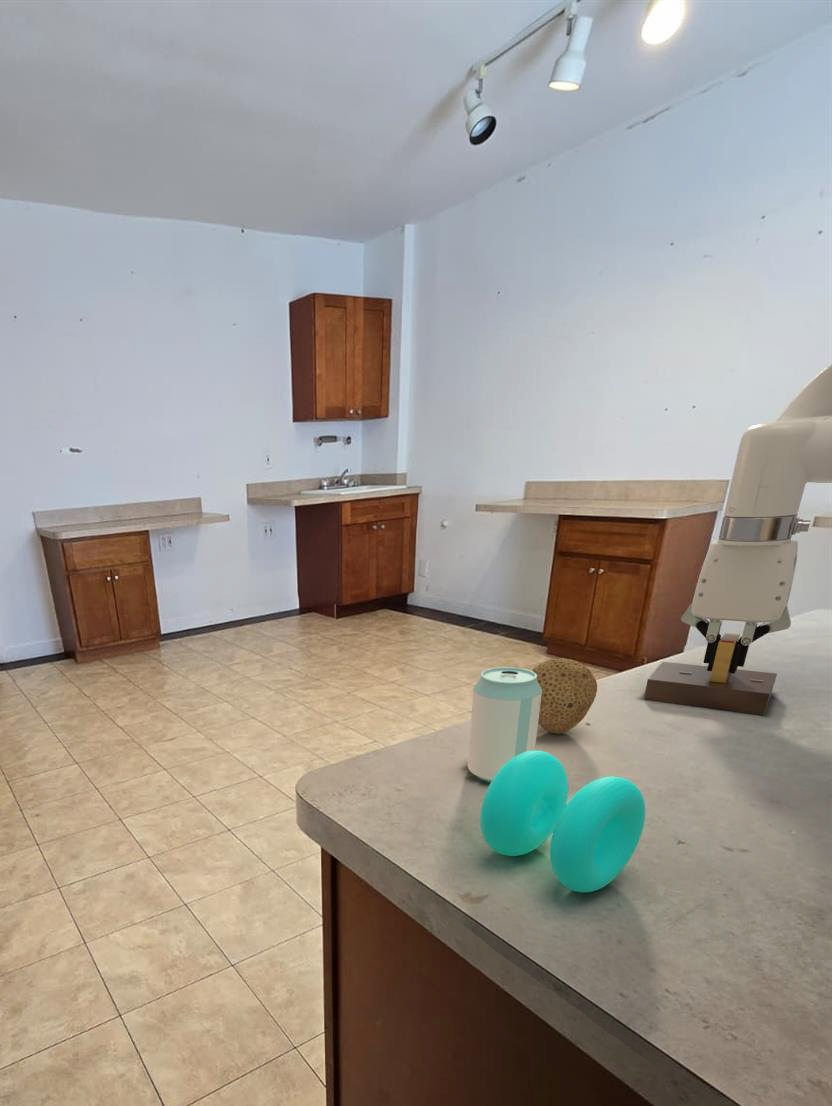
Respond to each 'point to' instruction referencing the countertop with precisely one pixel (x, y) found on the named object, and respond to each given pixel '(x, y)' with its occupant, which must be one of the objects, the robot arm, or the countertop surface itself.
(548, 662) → the natural sponge
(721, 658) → the thumbturn
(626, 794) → the donuts
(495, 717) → the can
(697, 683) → the plate
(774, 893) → the countertop surface
